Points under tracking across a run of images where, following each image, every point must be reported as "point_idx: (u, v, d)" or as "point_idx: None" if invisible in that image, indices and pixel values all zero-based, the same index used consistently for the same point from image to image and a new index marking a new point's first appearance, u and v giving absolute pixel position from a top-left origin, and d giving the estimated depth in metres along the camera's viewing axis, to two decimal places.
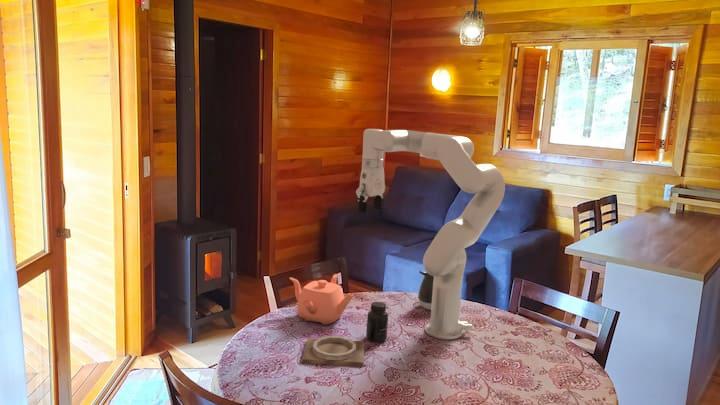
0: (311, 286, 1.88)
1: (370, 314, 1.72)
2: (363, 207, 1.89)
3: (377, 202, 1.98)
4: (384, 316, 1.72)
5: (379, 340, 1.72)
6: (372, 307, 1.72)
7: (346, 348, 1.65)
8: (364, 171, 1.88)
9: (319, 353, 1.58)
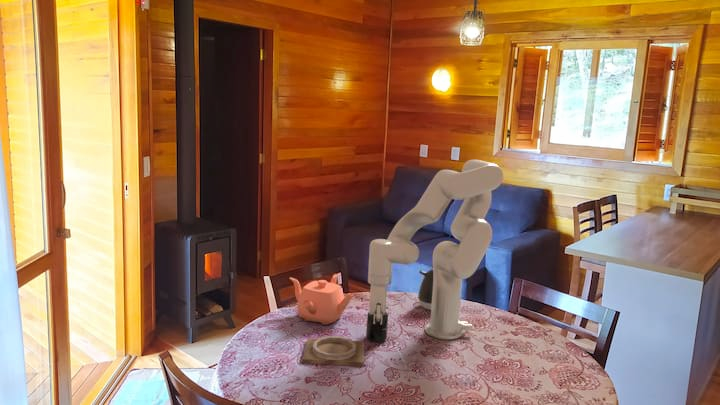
0: (311, 286, 1.88)
1: None
2: None
3: None
4: (384, 316, 1.72)
5: (379, 340, 1.72)
6: None
7: (346, 348, 1.65)
8: None
9: (319, 353, 1.58)
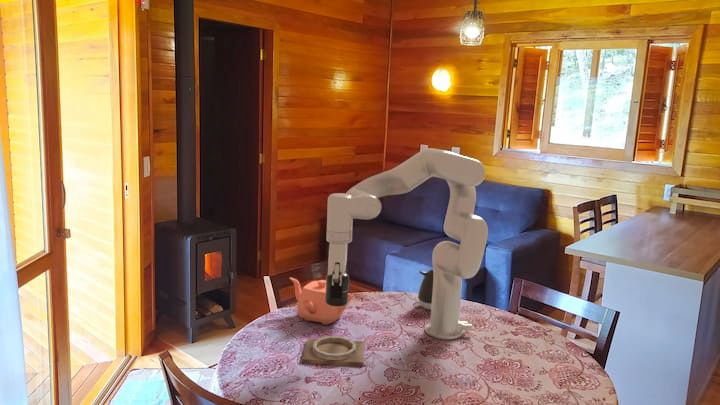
0: (311, 286, 1.88)
1: None
2: None
3: None
4: (344, 277, 1.57)
5: (339, 303, 1.57)
6: None
7: (346, 348, 1.65)
8: None
9: (319, 353, 1.58)
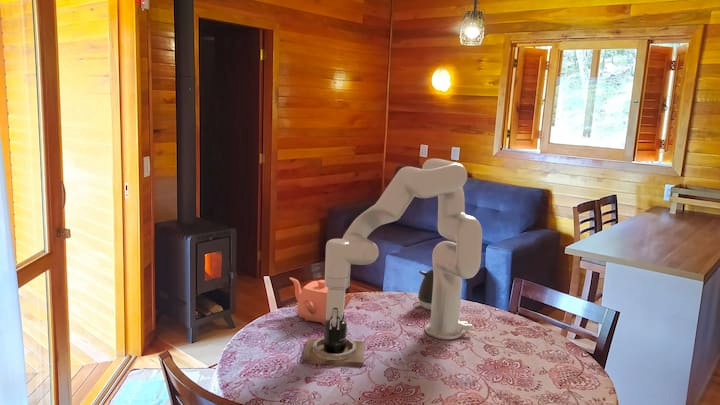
0: (311, 286, 1.88)
1: (327, 323, 1.61)
2: None
3: None
4: (342, 325, 1.60)
5: (337, 351, 1.60)
6: None
7: (346, 348, 1.65)
8: None
9: (319, 353, 1.58)
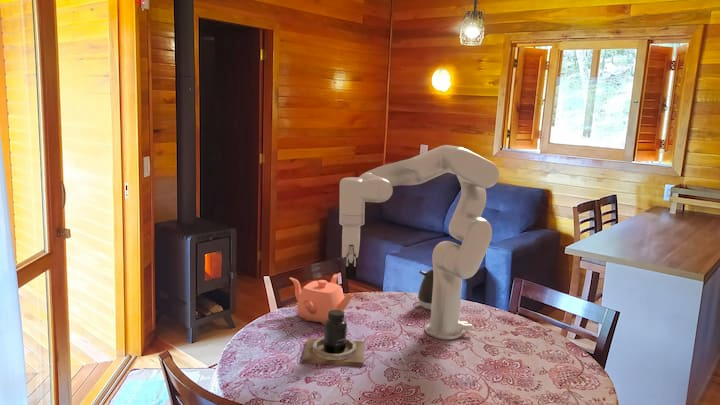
0: (311, 286, 1.88)
1: (327, 323, 1.60)
2: None
3: None
4: (342, 325, 1.60)
5: (337, 351, 1.60)
6: (329, 316, 1.61)
7: (346, 348, 1.65)
8: None
9: (319, 353, 1.58)
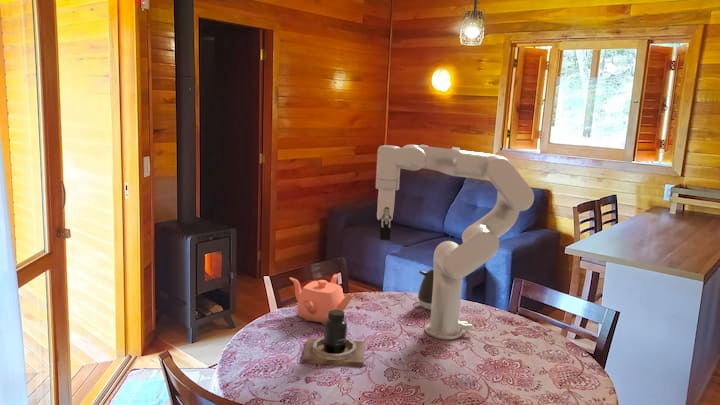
0: (311, 286, 1.88)
1: (327, 323, 1.60)
2: None
3: None
4: (342, 325, 1.60)
5: (337, 351, 1.60)
6: (329, 316, 1.61)
7: (346, 348, 1.65)
8: None
9: (319, 353, 1.58)
